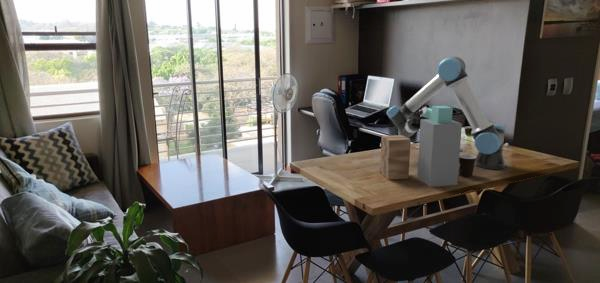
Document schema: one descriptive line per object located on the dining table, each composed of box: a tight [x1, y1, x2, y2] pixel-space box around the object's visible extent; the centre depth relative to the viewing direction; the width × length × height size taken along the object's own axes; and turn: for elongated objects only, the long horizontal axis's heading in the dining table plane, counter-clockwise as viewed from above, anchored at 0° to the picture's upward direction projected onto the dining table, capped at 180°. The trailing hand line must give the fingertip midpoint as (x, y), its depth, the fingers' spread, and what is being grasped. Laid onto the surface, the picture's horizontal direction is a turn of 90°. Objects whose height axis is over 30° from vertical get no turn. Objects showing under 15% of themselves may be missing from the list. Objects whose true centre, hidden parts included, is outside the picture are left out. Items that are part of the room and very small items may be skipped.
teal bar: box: [421, 105, 454, 123], centre depth 218 cm, size 21×7×7 cm, turn 10°
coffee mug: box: [458, 154, 477, 178], centre depth 229 cm, size 12×9×10 cm
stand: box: [417, 119, 463, 188], centre depth 216 cm, size 14×14×30 cm
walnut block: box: [379, 134, 411, 180], centre depth 227 cm, size 11×11×20 cm
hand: (432, 108), depth 221 cm, fingers open, 6 cm apart
